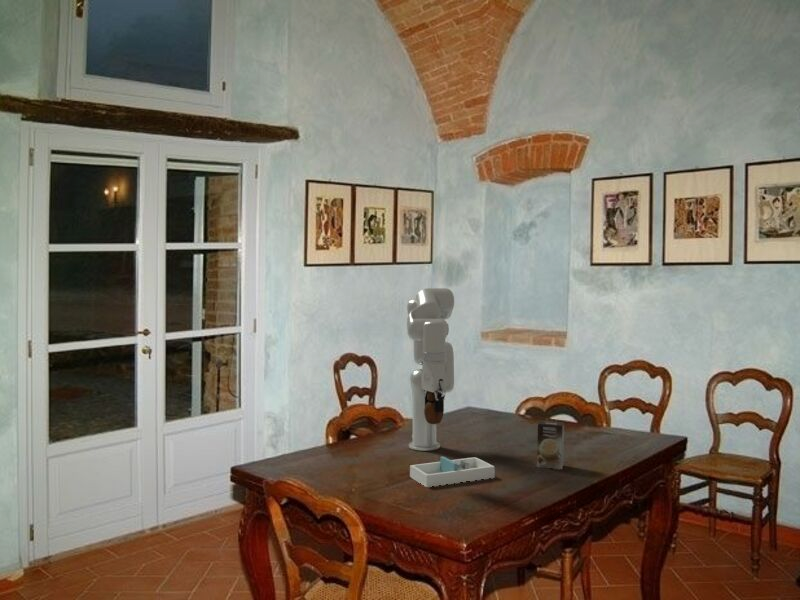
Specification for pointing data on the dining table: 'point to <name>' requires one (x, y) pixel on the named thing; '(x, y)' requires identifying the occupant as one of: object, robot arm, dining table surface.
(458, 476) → the lane
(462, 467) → the pusher paddle
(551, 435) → the coffee box
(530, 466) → the dining table surface
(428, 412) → the wooden figurine
